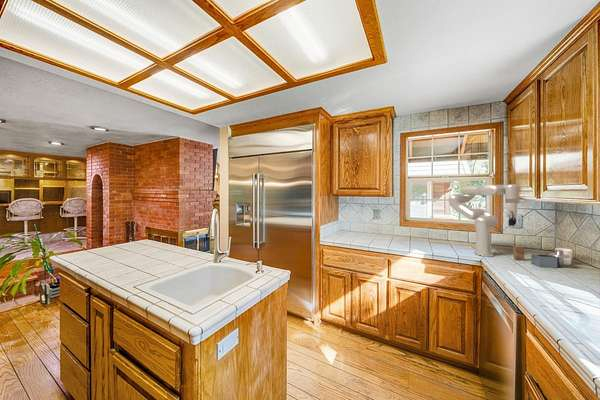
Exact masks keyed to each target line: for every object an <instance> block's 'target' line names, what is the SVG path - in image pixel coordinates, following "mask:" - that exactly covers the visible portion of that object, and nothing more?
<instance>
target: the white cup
mask: <svg viewBox="0 0 600 400" xmlns="http://www.w3.org/2000/svg"><path fill="white" fill-rule="evenodd" d="M554 249H555V250H563V251H564V254H566V255H569V256H570V258H563V266H564V265H565V266H570V265H572V261H573V249H570V248H565V247H564V248H562V247H556V248H554ZM555 250H554V251H555Z"/></svg>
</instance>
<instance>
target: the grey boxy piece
mask: <svg viewBox="0 0 600 400" xmlns="http://www.w3.org/2000/svg"><path fill="white" fill-rule="evenodd" d="M530 257H531V259H530V260H531V265H533V266H535V267H538V268H546V269H548V268H549V269H558V268H564V264H563V258H570V256H569V255H566V254H564V251H563V250H554V252H550V253H549V254H541V253H538V254H537V253H531V256H530Z"/></svg>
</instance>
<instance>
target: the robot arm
mask: <svg viewBox="0 0 600 400" xmlns="http://www.w3.org/2000/svg"><path fill="white" fill-rule="evenodd" d="M459 191H460V193H455V194H452V195H450V196H449V197H448V203H449V205H450V207H451V208H452V209H454V210H455V211H457V212H458V213H459V214H461V215H462V216H463V217H465V218H467V219H468V220H470V221H474V222H473V223H474V228H475V251H473V255H475V254H477V255H476V256H479V255H481V257H486V258H487V257H489V258H490V257H494V255H495V254H494V253H492V232H491V230H490V228H494V227H497V226H498V225H499V220H498V218H497V217H496V216H495V215H494V214H492V213H490V212H489V211H487V210H485V209H483V208H473V207H470V206H469V205H467V204H466V203H468V202H470V201H471V200H472V199H474V197H475V196H483V195H484V196H497V195H498V196H500V195H503V196H504V203H505V204H506V215H505V216H506V218H508V223H507V224H508V226H511V227H514V226H516V224H517V216H518V215H517V214H518V204H520V185H519V184H514V183H513V184H467V185H463V186H461V188H460V190H459Z"/></svg>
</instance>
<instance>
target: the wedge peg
mask: <svg viewBox="0 0 600 400" xmlns="http://www.w3.org/2000/svg"><path fill="white" fill-rule="evenodd" d="M513 260H514V261H523V262H524V261H525V247H524V246H519V245H515V246H514V245H513Z"/></svg>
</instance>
